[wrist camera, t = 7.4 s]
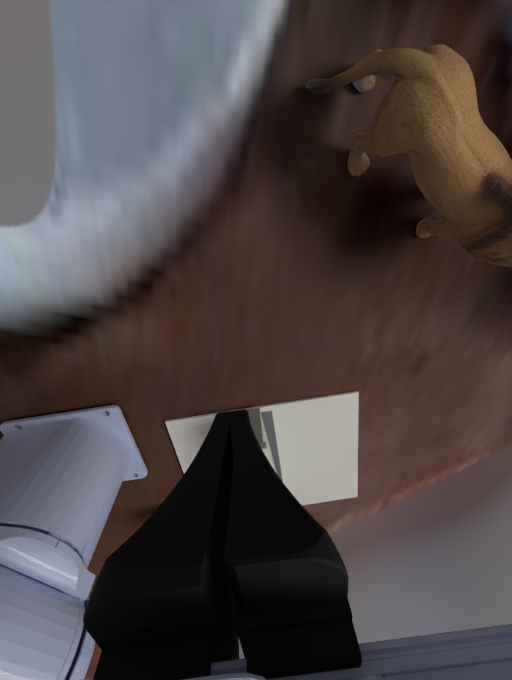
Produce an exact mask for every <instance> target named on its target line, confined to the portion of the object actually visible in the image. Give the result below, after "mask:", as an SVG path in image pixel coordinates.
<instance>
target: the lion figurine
mask: <svg viewBox="0 0 512 680" xmlns="http://www.w3.org/2000/svg"><path fill="white" fill-rule="evenodd" d="M376 76H378V77H382V78H384V79H385V80H387V81H388V82H390V83H391V84H393V87H392V88H391V90H390V91H389V92H388V93H387V95H386V96H385V97H384V99H383V100H382V102H381V104H380V105H379V107H378V109H377V111H376V113H375V115H374V117H373V119H372V121H371V123H370V125H369V127H368V128H367V129H366V130H359V131H357V132H356V133H355V134H354V136H353V143H352V148H351V151H350V154H349V157H348V161H347V166H348V171H349V173H350V174H351V175H352V176H360V175H362V174H363V173H364V172H365V171H366V170H367V168H368V167H369V163H370V162H369V159H368V157H367V155H366V154H365V152H367V153H371V154H375V155H378V156H382V157H386V156H390V155H393V154H400V153H407V154H408V156H409V158H410V160H411V166H412V171H413V174H414V178H415V181H416V184H417V186H418V187H419V189H420V190H421V192H422V194H423V195H424V197H425V198H426V199H427V200H428V201H429V202H430V203H431V204H432V205H433V206H434V207H435V208H436V209H437V210H438V211H439V212H440V213H441V214H442V215H443V216H442V217H441V218H440V219H437V218H436V217H430V216H427V217H424V218H423V219H422V220H421V221H419V222H418V224H417V227H416V235H417V236H418V237H419V238H427V237H429V236H431V235H434V236H437V237H438V238H440V239H442V240H446V241H455V240H457V241H459V242H460V243H461V246H462V247H463V248H464V249H465V250H467V252H468V253H470V254H471V256H472V257H473V258H475V259H483V260H486V261H487V262H488V263H490V264H494V265H499V266H507V267H512V160H511V158H510V157H509V155H508V153H507V151H506V150H505V148H504V147H503V145H502V144H501V142H500V141H499V140H498V138H497V137H496V136H495V135H494V134H493V133H492V132H491V131H490V130H489V129H488V128H487V127H486V125H485V124H484V122H483V121H482V119H481V117H480V114H479V111H478V105H477V97H476V87H475V82H474V78H473V75H472V72H471V69H470V67H469V65H468V63H467V62H466V60H465V59H464V58H463V57H461V56H460V55H459V54H457V53H456V52H455V51H454V50H452V49H451V48H449V47H447V46H446V45H439V44H438V45H432V46H429V47H426V48H424V49H422V50H420V51H419V50H417V49H411V48H395V49H388V50H385V51H382V50H380V49H376V50H374V51H372V52H371V53H370V54H368V55H367V56H365V57H363V58H362V59H361V60H360V61H359V62H358V63H356V64H355V65H353V66H352V67H351V68H349V69H348V70H346V71H344V72H343V73H340V74H338V75H336V76H334V77H332V78H329V79H314V78H313V79H309V80H307V82H306V84H305V88H307V89H309V90H310V91H311V92H312V93H314V94H325V93H328V92H331V91H335V90H337V89H339V88H341V87H342V86H345V85H347V84H349V83H351V82H353V84H354V86H355V88H356V89H357V90H358V91H359V92H366V91H368V90H371V89H372V88H373V87H374V85H375V79H376Z"/></svg>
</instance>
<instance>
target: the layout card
mask: <svg viewBox="0 0 512 680" xmlns="http://www.w3.org/2000/svg"><path fill="white" fill-rule="evenodd" d="M256 408H260V412H261V415H262V419H263V423H264V427H265V430H266V434H267V438H268V442H269V445H270V449H271V453H272V457H273V460H274V464H275V468H276V472H277V475H278V476H279V478H280V479H281V480H282V482H283V483H284V485H285V486H286V487H287V488H288V489H289V491H290V492H291V493H292V494H293V496H294V497H295V498H296V499H297V500H298V502H299V503H300V504H301V505H307V504H313V503H320V502H327V501H333V500H340V499H346V498H353V497H357V494H358V391H353V392H347V393H341V394H334V395H328V396H321V397H315V398H308V399H302V400H295V401H289V402H282V403H276V404H269V405H263V406H256V407H250V408H243V409H246V410H251V409H256ZM243 409H237V410H243ZM230 411H235V410H230ZM224 412H227V411H224ZM218 413H219V412H218ZM216 414H217V413H211V414H205V415H198V416H192V417H185V418H179V419H172V420H166V421H165V423H166V426H167V429H168V432H169V434H170V437H171V440H172V443H173V445H174V448H175V451H176V454H177V456H178V459H179V462H180V465H181V467H182V470H183V473H184V474H185V472H186V471H187V469H188V468H189V466H190V464H191V463H192V461H193V459H194V458H195V456H196V454H197V453H198V451H199V449H200V447H201V445H202V444H203V442H204V440H205V438H206V436H207V434H208V432H209V430H210V427H211V425H212V423H213V421H214V418H215V415H216Z"/></svg>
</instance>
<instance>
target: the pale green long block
mask: <svg viewBox="0 0 512 680" xmlns="http://www.w3.org/2000/svg"><path fill="white" fill-rule="evenodd" d="M247 411H248V413H249V419H250V423H251V426H252V429H253V431H254V434H255V436H256V438H257V440H258V442H259V445H260V447H261V448H262V450H263V452H264V454H265V456H266V458H267V459H268V461H269V463H270V464H271V466H272V467H273V469H274V470H275V472H276V468H275V464H274V460H273V457H272V453H271V449H270V445H269V442H268V438H267V434H266V430H265V427H264V423H263V419H262V415H261V412H260V408H256V409H251V410H247ZM276 473H277V472H276Z"/></svg>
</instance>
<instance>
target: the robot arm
mask: <svg viewBox="0 0 512 680" xmlns="http://www.w3.org/2000/svg"><path fill="white" fill-rule="evenodd" d="M105 411H107V412H109V413H106V412H105ZM19 425H20V426H19ZM0 431H1V432H2V434H3V435H4V436H3V437H2V438H1V439H0V680H512V624H509V625H501V626H494V627H485V628H477V629H470V630H462V631H454V632H447V633H439V634H431V635H424V636H415V637H407V638H400V639H392V640H384V641H376V642H369V643H361V644H358V641H357V637H356V634H355V630H354V626H353V623H352V613H351V609H350V605H349V602H348V598H347V597H348V596H347V595H348V574H347V570H346V568H345V565H344V563H343V560H342V558H341V556H340V554H339V552H338V550H337V548H336V546H335V545H334V543H333V541H332V539H331V538H330V536H329V534H328V532H327V531H326V530H325V529H324V528H323V527H322V526H321V525H320V524H319V523H318V522H317V521H316V520H315V519H314V518H313V517H312V516H311V515H310V514H309V513H308V512H307V510H306V509H305V508H304V507H303V506H302V505H301V504H300V503H299V502H298V500H297V499H296V498H295V497H294V496H293V494H292V493H291V492H290V491H289V489H288V488H287V487H286V486H285V485H284V483H283V482H282V480H281V479H280V478H279V476H278V475H277V473H276V472H275V470H274V469H273V467H272V466H271V464H270V463H269V461H268V459H267V458H266V456H265V454H264V452H263V450H262V448H261V447H260V445H259V442H258V440H257V438H256V436H255V434H254V431H253V429H252V426H251V423H250V419H249V413H248V411H247V410H246V409H243V410H235V411H227V412H219V413H217V414H216V415H215V418H214V421H213V423H212V425H211V427H210V430H209V432H208V434H207V436H206V438H205V440H204V442H203V444H202V445H201V447H200V449H199V451H198V453H197V454H196V456H195V458H194V459H193V461H192V463H191V464H190V466H189V468H188V469H187V471H186V472H185V474H184V475H183V477H182V478H181V479H180V481H179V482H178V484H177V485H176V486H175V488H174V489H173V490H172V491H171V493H170V494H169V495H168V497H167V498H166V499H165V500H164V502H163V503H162V504H161V505H160V506H159V507H158V509H157V510H156V511H155V512H154V513H153V514H152V515H151V516H150V517H149V518H148V519H147V521H146V522H145V523H144V524H143V525H142V526H141V527H140V528H139V529H138V530H137V531H136V532H135V533H134V534H133V535H132V536H131V537H130V538H129V539H128V540H127V541H126V542H125V543H123V544H122V545H121V546H120V547H119V548H118V549H117V550H116V551H115V552H114V553H113V554H111V555H110V556H109V557H108V558H107V559H106V561H105V563H104V566H103V568H102V570H101V572H100V574H99V576H98V578H97V581H96V583H95V585H94V588H93V591H92V594H91V596H90V597H88V595H89V592H90V590H91V587H92V584H93V582H94V579H95V575H94V574H92V573H91V572H89V571H88V570H87V567H88V565H89V562H90V560H91V558H92V555H93V553H94V550H95V548H96V545H97V543H98V540H99V538H100V535H101V533H102V530H103V528H104V525H105V523H106V521H107V518H108V516H109V513H110V511H111V508H112V506H113V503H114V501H115V498H116V496H117V493H118V491H119V488H120V486H121V483H122V481H127V480H133V479H140V478H144V477H146V476H147V473H148V470H147V468H146V466H145V464H144V461H143V459H142V457H141V455H140V452H139V450H138V448H137V445H136V443H135V441H134V439H133V436H132V434H131V432H130V430H129V427H128V425H127V423H126V421H125V418H124V416H123V414H122V411H121V409H120V408H119V407H118V406H116V405H109V406H102V407H96V408H89V409H83V410H76V411H70V412H63V413H57V414H51V415H44V416H38V417H31V418H25V419H18V420H12V421H6V422H3V423H2V424H1V425H0ZM238 636H239V639H240V643H241V646H242V649H243V653H244V656H245V658H244V659H239V642H238ZM95 642H96V643H97V644H98V646H99V647H100V648H101V649H102V652H101V655H100V659H99V662H98V666H97V669H96V672H95V675H94V678H89V679H84V677H85V675H86V672H87V669H88V666H89V664H90V660H91V657H92V654H93V650H94V646H95Z"/></svg>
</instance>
